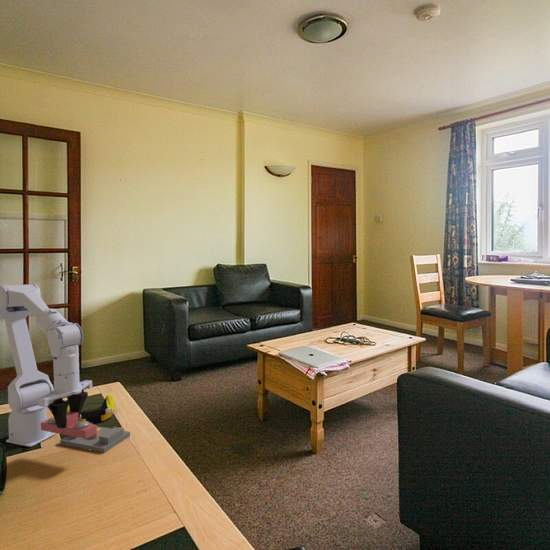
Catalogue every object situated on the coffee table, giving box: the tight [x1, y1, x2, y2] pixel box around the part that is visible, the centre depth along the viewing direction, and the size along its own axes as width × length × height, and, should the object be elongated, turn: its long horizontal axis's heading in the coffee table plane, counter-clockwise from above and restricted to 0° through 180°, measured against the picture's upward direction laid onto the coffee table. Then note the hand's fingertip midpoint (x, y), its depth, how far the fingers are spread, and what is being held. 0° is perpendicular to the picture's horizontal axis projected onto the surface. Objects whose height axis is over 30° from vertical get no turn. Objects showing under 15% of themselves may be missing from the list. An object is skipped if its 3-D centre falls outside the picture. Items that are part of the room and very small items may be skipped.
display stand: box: [59, 423, 131, 453], centre depth 107 cm, size 15×10×3 cm, turn 71°
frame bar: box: [41, 411, 98, 439], centre depth 98 cm, size 15×4×4 cm, turn 70°
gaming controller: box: [67, 394, 116, 424], centre depth 122 cm, size 15×6×10 cm
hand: (68, 424), depth 98 cm, fingers closed on frame bar, 3 cm apart
